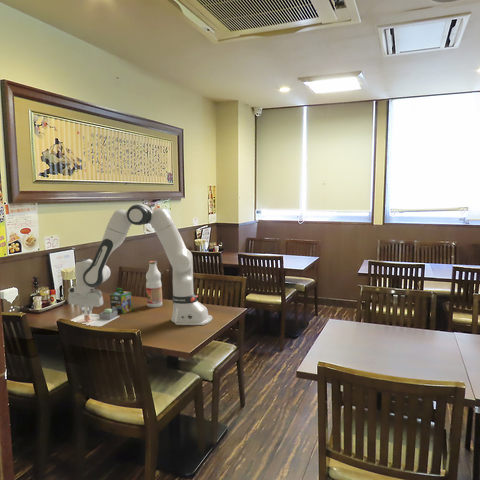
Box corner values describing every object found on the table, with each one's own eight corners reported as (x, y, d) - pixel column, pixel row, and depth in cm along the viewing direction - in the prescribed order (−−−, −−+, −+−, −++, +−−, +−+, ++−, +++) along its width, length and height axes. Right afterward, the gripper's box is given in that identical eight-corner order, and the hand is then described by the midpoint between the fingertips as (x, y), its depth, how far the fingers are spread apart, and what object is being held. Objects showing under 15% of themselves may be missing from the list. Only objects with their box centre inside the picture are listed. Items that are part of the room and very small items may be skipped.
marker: (91, 319, 214) (89, 300, 212) (87, 320, 211) (86, 301, 210) (86, 318, 214) (85, 300, 213) (83, 320, 212) (82, 301, 211)
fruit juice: (159, 307, 237) (157, 262, 234) (144, 307, 239) (142, 262, 235) (164, 303, 246) (162, 260, 243) (150, 303, 248) (148, 260, 245)
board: (120, 316, 221) (120, 310, 221) (100, 327, 204) (100, 320, 204) (85, 314, 228) (84, 308, 228) (63, 324, 211) (62, 317, 211)
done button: (113, 313, 220) (113, 308, 219) (109, 315, 216) (108, 310, 216) (107, 313, 221) (107, 308, 221) (103, 315, 217) (103, 310, 217)
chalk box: (133, 310, 233) (131, 286, 231) (122, 314, 225) (120, 290, 223) (121, 308, 237) (120, 285, 236) (110, 313, 229) (108, 288, 227)
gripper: (104, 288, 211) (106, 312, 212) (73, 286, 217) (75, 310, 218) (97, 290, 205) (99, 316, 206) (65, 289, 211) (67, 313, 212)
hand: (86, 313), depth 212 cm, fingers closed on marker, 2 cm apart
